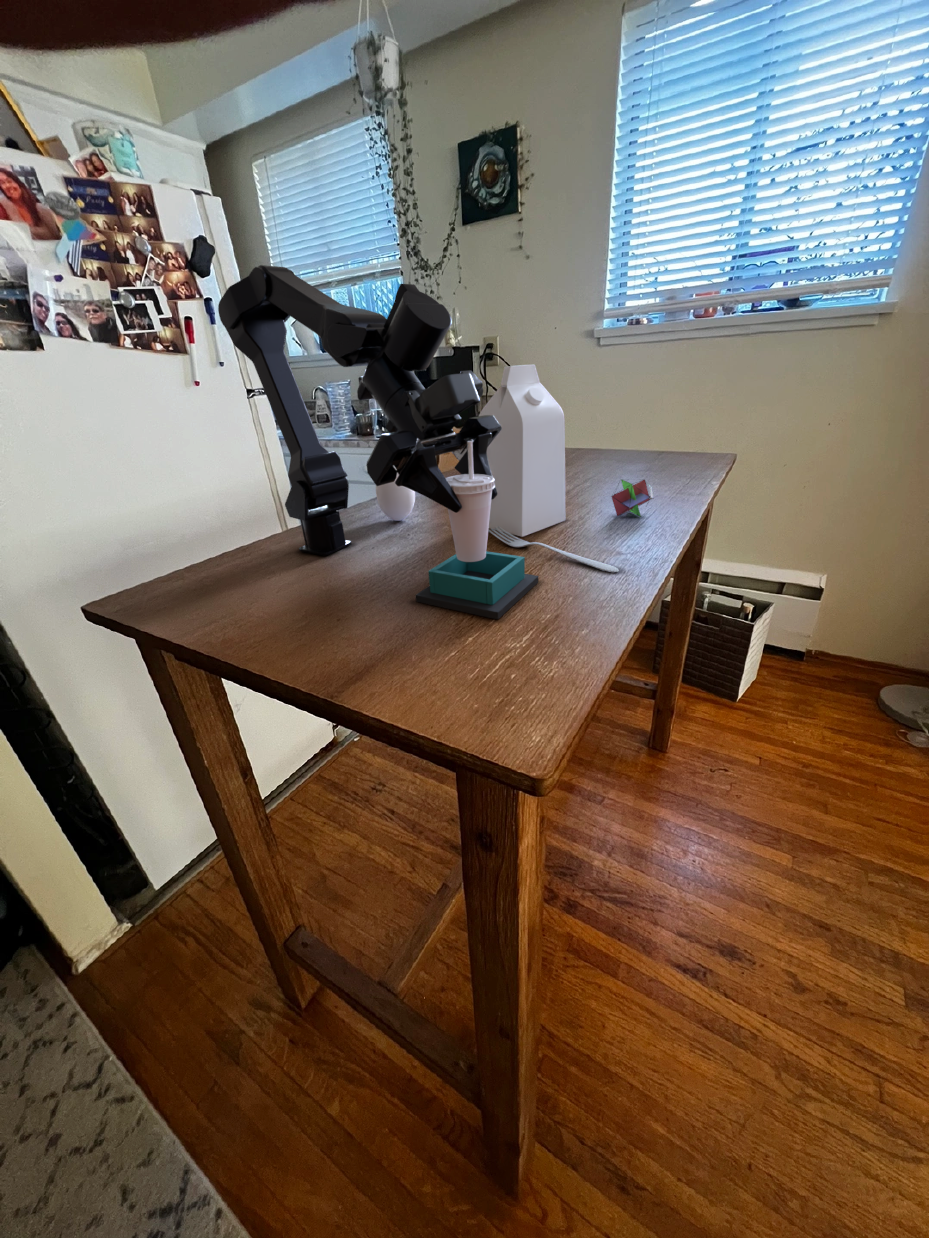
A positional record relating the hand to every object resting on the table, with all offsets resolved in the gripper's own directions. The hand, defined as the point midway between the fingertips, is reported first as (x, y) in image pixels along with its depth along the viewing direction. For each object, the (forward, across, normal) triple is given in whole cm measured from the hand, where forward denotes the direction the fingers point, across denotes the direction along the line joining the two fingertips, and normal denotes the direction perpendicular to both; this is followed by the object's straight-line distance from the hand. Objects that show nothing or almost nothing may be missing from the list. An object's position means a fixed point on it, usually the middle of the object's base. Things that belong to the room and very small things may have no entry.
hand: (477, 503), depth 60 cm
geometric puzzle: (+9, +43, +8) cm, 45 cm away
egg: (-16, +18, +34) cm, 42 cm away
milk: (-1, +29, +19) cm, 35 cm away
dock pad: (+8, +1, +10) cm, 12 cm away
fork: (+8, +18, +10) cm, 22 cm away
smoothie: (+4, 0, +6) cm, 7 cm away
